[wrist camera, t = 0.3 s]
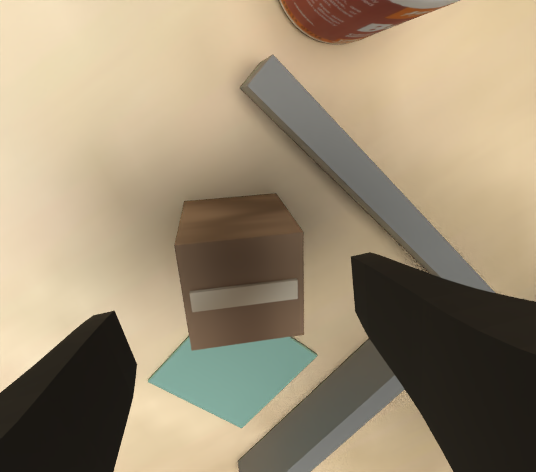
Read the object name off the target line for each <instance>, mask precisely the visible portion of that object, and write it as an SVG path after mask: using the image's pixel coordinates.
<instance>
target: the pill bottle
mask: <svg viewBox="0 0 536 472" xmlns="http://www.w3.org/2000/svg"><path fill="white" fill-rule="evenodd" d="M279 1H280V3H281V5H282V7H283V9H284V11H285V13H286V14H287V16H288V17H289V19H290V20H291V21H292V22H293V24H294V25H295V26H296V27H297V28H298V29H300V30H301V31H302V32H303V33H305V34H306V35H308V36H309V37H311V38H313V39H315V40H318V41H321V42H324V43H329V44H345V43H350V42H354V41H358V40H361V39H363V38H366V37H368V36H371V35H373V34H376V33H378V32H381V31H383V30H386V29H388V28H391V27H393V26H396V25H399V24H401V23H404V22H406V21H409V20H411V19H414V18H416V17H419V16H422V15H424V14H427V13H429V12H432V11H435V10H437V9H440V8H442V7H445V6H448V5H450V4H453V3H455V2H457V1H460V0H279Z"/></svg>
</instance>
